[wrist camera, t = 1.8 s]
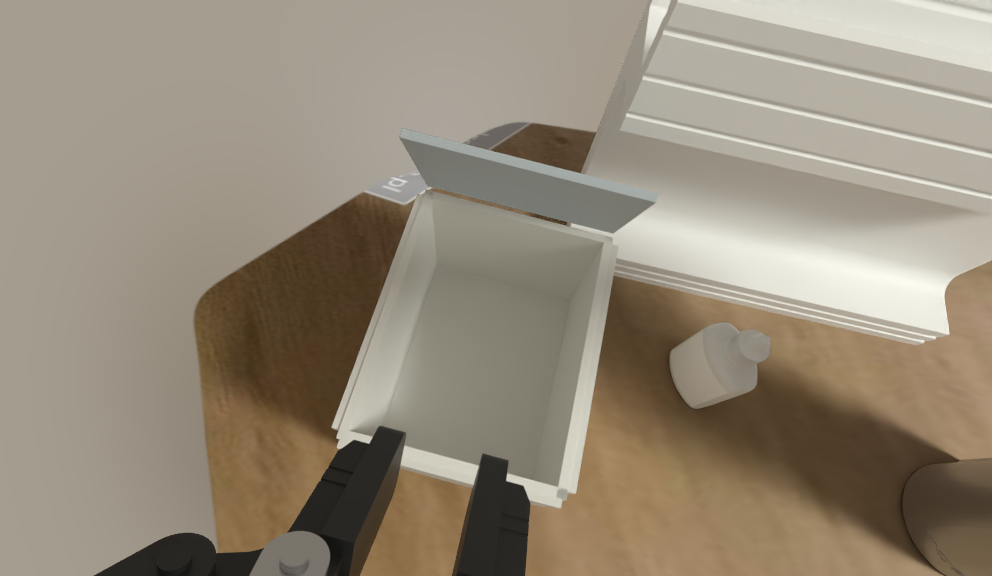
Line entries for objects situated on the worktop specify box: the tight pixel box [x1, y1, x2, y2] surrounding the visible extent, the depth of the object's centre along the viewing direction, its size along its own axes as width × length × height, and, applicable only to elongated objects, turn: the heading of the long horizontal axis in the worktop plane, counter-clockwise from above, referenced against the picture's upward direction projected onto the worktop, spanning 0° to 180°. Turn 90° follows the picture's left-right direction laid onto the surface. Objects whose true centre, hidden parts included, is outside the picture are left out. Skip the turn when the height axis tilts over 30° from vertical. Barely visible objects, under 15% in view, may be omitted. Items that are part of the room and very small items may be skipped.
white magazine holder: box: [567, 0, 992, 345], centre depth 37 cm, size 35×8×28 cm, turn 78°
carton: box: [331, 190, 619, 509], centre depth 39 cm, size 18×15×12 cm
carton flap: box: [400, 128, 658, 234], centre depth 31 cm, size 10×14×1 cm
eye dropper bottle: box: [670, 322, 771, 409], centre depth 40 cm, size 4×6×12 cm
